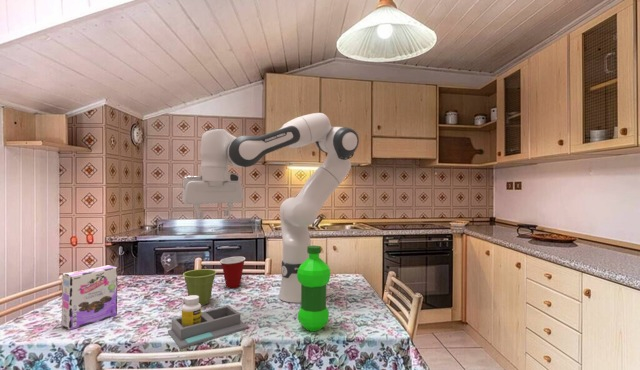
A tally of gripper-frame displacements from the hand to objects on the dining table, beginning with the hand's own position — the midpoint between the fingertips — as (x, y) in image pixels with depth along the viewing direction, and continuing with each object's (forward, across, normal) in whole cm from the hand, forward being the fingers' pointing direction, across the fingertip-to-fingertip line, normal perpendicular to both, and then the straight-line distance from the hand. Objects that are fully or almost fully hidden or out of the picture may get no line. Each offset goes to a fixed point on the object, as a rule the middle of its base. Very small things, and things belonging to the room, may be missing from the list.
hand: (213, 216), depth 112 cm
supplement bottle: (+33, -10, -10) cm, 36 cm away
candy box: (+33, -33, +19) cm, 51 cm away
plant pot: (+33, 0, +13) cm, 36 cm away
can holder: (+33, -6, -12) cm, 36 cm away
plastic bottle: (+33, +20, -30) cm, 49 cm away
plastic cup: (+33, +18, +24) cm, 45 cm away
